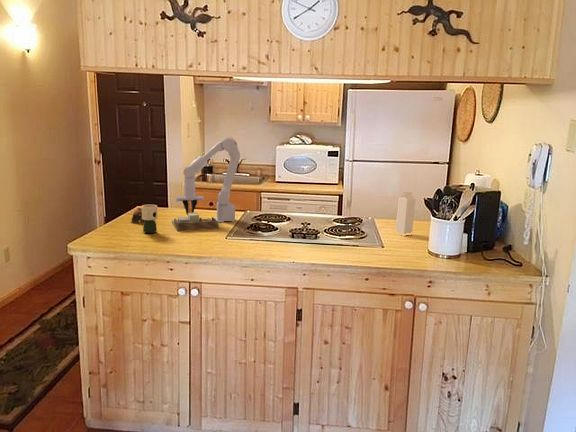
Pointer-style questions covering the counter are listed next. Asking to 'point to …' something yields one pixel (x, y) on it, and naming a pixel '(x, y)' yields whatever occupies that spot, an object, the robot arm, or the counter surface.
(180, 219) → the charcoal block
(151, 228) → the character mug
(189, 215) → the rod with orange block
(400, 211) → the milk
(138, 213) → the dark brown lumpy figurine
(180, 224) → the lane shelf
